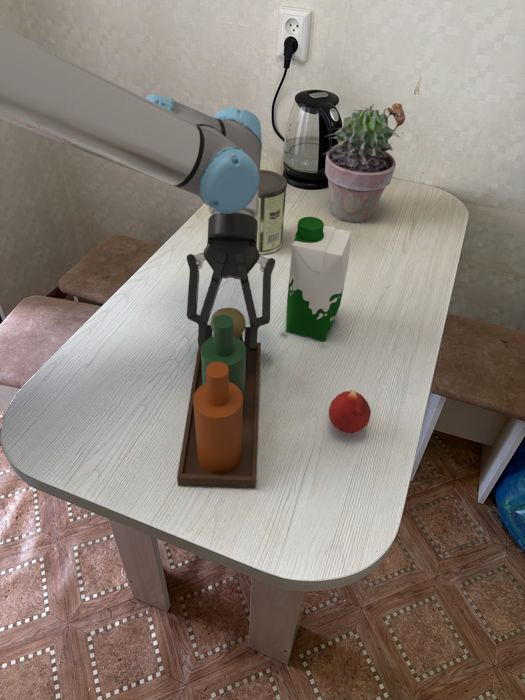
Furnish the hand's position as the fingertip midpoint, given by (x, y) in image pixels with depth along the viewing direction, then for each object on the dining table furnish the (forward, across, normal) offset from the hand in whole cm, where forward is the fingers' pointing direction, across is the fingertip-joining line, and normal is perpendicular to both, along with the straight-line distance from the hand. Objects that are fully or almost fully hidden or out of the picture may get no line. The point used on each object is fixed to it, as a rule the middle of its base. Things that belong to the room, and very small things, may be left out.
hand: (226, 369), depth 77 cm
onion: (+8, -18, +2) cm, 20 cm away
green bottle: (+6, 0, +1) cm, 6 cm away
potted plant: (-38, -25, -44) cm, 63 cm away
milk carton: (-8, -14, -14) cm, 21 cm away
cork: (0, 0, -5) cm, 5 cm away
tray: (+6, 0, +1) cm, 6 cm away
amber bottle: (+12, 0, +7) cm, 14 cm away
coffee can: (-27, -4, -33) cm, 43 cm away
